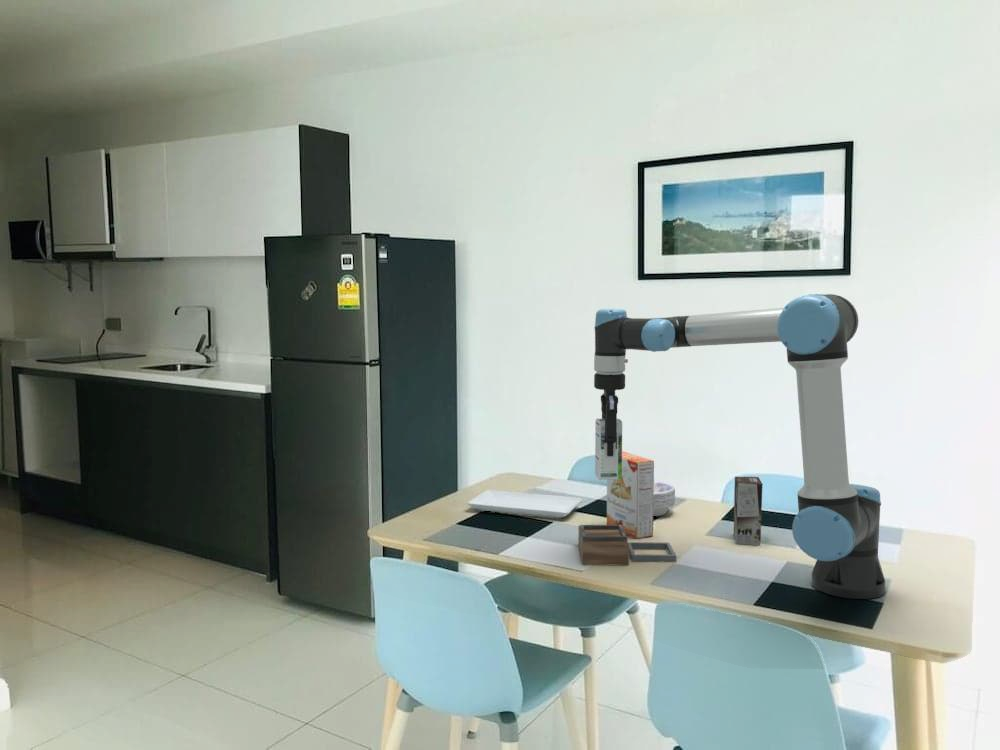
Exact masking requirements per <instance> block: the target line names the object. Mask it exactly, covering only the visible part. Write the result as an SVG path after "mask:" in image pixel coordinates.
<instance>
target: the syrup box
mask: <svg viewBox="0 0 1000 750" xmlns="http://www.w3.org/2000/svg"><path fill="white" fill-rule="evenodd" d="M594 437H595V439H594V441H595V442H594V443H595V447H594V448H595V449H594V450H595V451H594V452H595V453H594V454H595V455H594V457H595V458H594V463H595V464H594V474H595V477H596V478H597V479H598V481H601V480H604V481H605V480H606V481H607V480H615V479H618V480H621V479H622V452H623V420H621V419H620V418H618V417H617V431H616V438H617V441H616V442H615V443H616V451H615V469H604V443H602V440H605V419H602V418H596V419H595V436H594ZM609 437H613V436H609Z"/></svg>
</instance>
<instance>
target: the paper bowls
mask: <svg viewBox="0 0 1000 750" xmlns="http://www.w3.org/2000/svg"><path fill="white" fill-rule="evenodd" d="M674 505H676V488H675V487H674V486H673V485H671V484H669V483H664V482H657V481H654V495H653V516H656V517H661V516H664V515H666V514H667V512H668V510H669V508H671V507H673V506H674Z"/></svg>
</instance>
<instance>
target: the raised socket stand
mask: <svg viewBox="0 0 1000 750" xmlns="http://www.w3.org/2000/svg"><path fill="white" fill-rule="evenodd" d="M577 538H578V540H577V541H578V549H579V554H580V559H581V565H582V566H589V565H588V564H593V565H592V566H601V565H600V564H617V565H616V566H629V565H630V564H629V563H630V562H629V561H630V560H629V557H630V554H629V544H628V542H629V541H628V538H627V534H625V532H624V529H623V527H622V525H607V524H580V525H578V537H577ZM595 564H596V565H595ZM618 564H620V565H618ZM622 564H623V565H622Z"/></svg>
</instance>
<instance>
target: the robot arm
mask: <svg viewBox="0 0 1000 750" xmlns="http://www.w3.org/2000/svg"><path fill="white" fill-rule="evenodd" d="M858 328H859V315H858V312H857V310H856V308H855V305H854V304H853V303H852V302H851V301H850V300H848V299H846V298H845V297H843V296H841V295H838V294H831V293H828V294H821V293H820V294H818V293H816V294H814V293H813V294H812V293H810V294H805V295H801V296H799V297H796V298H794V299H792V300H790V301H789V302H788V303H787V304H786V305H785V306H784V307H778V308H776V307H775V308H766V309H754V310H753V309H752V310H740V311H739V310H738V311H731V312H730V311H728V312H718V313H705V314H695V315H678V316H668V317H651V318H648V317H647V318H645V317H644V318H641V317H640V318H638V317H637V318H636V317H635V318H634V317H633V318H631V317H628V315H627V311H626V310H625V309H619V308H617V309H616V308H604V309H601V308H600V309H599V310H597V311H596V312H595V321H594V355H593V356H594V362H593V365H594V366H593V370H594V372H595V373H594V376H593V377H594V379H593V387H594V388H595V389H596V390H600V391H601V390H602V391H603V393H602V394H601V395H600V405H601V408H600V411H601V419H605V440H602V443H604V469H615V451H616V443H615V442H616V441H617V438H616V431H617V418H618V415H617V414H618V403H619V396H618V395H616V391H617V390H618V391H621V390H625V388H626V375H625V373H624V372H625V371H626V364H628V363H629V360H628V358H626V355H627V354H626V352H627V350H634V351H635V350H637V351H650V352H654V353H655V352H667V351H669V350H670V349H671V348H673V349H674V348H688V347H689V348H691V347H700V346H702V347H704V346H722V345H739V344H740V345H741V344H743V345H744V344H759V343H761V344H762V343H776V342H777V343H778V342H781V343H782V345H783V346H784V347H785V348H786V356H787V363H788V365H790V367H792V368H793V369H794V370H795V372H796V373H795V374H796V388H797V399H798V400H797V401H798V413H799V414H798V415H799V426H800V427H799V428H800V429H799V430H800V442H801V453H802V454H801V455H802V466H803V467H802V470H803V481H804V482H803V483H804V484H803V486H802V487H801V488H800V489H799V490H798V491H797V504H798V505H797V507H798V512H797V514H796V515H795V516H794V519H793V522H792V525H791V529H792V530H791V532H792V536H793V539H794V541H795V543H796V544H797V547H798V548H799V550H801V551H802V552H803V553H804V554H805V555H806V556H808V557H810V558H812V559H814V560H816V561H815V564H814V567H813V569H812V571H811V579H810V581H811V582H810V583H811V585H812V587H813V588H814V589H816V590H818V591H820V592H822V593H825V594H827V595H831V596H834V597H839V598H844V599H852V600H869V599H876V598H880V597H882V596H884V595H885V594H886V579H885V575H884V571H883V569H882V566H881V563H880V558H879V539H880V517H881V506H882V502H881V493H880V491H879V490H878V489H877V488H876V487H872V486H868V485H862V484H856V483H855V484H854V483H850V481H849V467H848V465H849V464H848V454H847V452H848V451H847V438H846V427H845V426H846V425H845V424H846V423H845V411H844V398H843V397H844V396H843V386H842V385H843V384H842V370H841V368H842V366H843V365H844V364H845V362H847V360H848V359H849V353H848V343H849V342H850V341H851V340H852V339H853V337H854V336H855V334H856V333H857V330H858ZM609 436H613V437H609Z"/></svg>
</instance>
